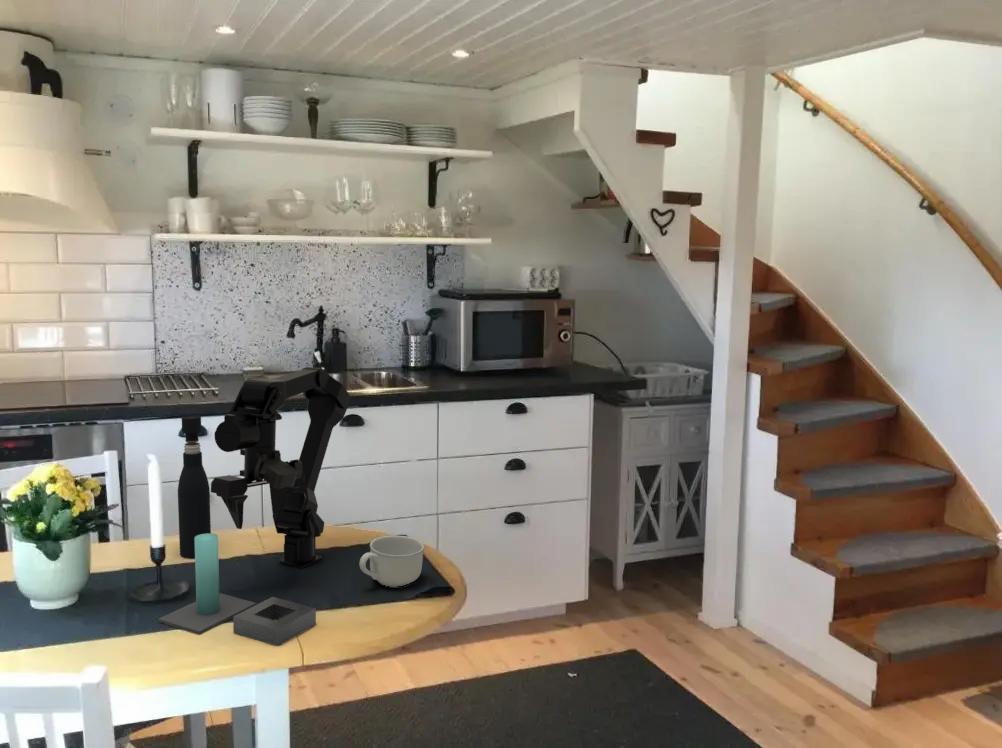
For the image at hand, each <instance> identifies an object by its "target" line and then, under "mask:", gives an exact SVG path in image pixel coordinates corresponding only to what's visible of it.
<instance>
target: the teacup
mask: <svg viewBox="0 0 1002 748" xmlns="http://www.w3.org/2000/svg"><path fill="white" fill-rule="evenodd" d="M424 545H425V544H424V543H423V541H421V540H420V539H417V538H414V537H412V536H406V535H384V536H379V537H376V538H375V539H373V540H371V542H370V543H369V549H370V551H369V552H365V553H364V554H363V555H362V556H361V557H360V558H359V563H358V564H359V568H360V570H361V571H362V572H363V573H364V574H366V575H368V576H369V577H371V578H372V580H376V581H377V582H378V583H379V584H380V585H382V586H384V585H385V586H384V587H388V586H389V588H398V587H397V586H403V585H406V584H409V583H411V582H412V583H413V582H414V581H416V580H417V579H418V578H419V577H420V575H421V573H422V568H423V559H424V549H425V546H424ZM368 560H369V569H368V568H367V566H366V565H367V561H368ZM412 583H411V584H412ZM409 585H410V584H409Z"/></svg>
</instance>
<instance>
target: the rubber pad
mask: <svg viewBox="0 0 1002 748" xmlns="http://www.w3.org/2000/svg"><path fill="white" fill-rule="evenodd" d="M219 601H220V610H219V612H217V613H215V614H212V615H199V614H198V613H197V605H196V601H194V602H192V603H189V604H188V605H184V607H180V608H179V609H176V610H175V611H172V612H170V613H168V614H166V615H163V616H161V617H160V618H157V621H158V623H160V624H163V623H164V625H167V626H170V627H174V628H176V629H180V630H184V631H186V632H189V633H193V634H196V635H201V634H203V633H205V632H208V631H210V630H212V629H214V628H217V626H220V625H222V624H224V623H225V622H227V621H229V620H231V619H233V616H235V615H237V614H239V613H241V612H243V611H245V610H247V609H249V608H251V607H253V606H255V605H257V602H254V601H250V600H247V599H243V598H239V597H236V596H231V595H228V594H225V593H222V592H219Z"/></svg>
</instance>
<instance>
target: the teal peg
mask: <svg viewBox="0 0 1002 748" xmlns="http://www.w3.org/2000/svg"><path fill="white" fill-rule="evenodd" d="M194 564H195V565H194V568H195V569H194V570H195V594H196V596H195V598H196V600H195V602H196V605H197V613H198V614H199V615H212V614H215V613H217V612H219V610H220V601H219V593H220V573H219V572H220V571H219V570H220V568H219V566H220V565H219V536H218V534H215V533H212V532H211V533H206V534H200V535H197V536H196V537H195V558H194Z"/></svg>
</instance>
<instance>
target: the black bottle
mask: <svg viewBox="0 0 1002 748" xmlns="http://www.w3.org/2000/svg"><path fill="white" fill-rule="evenodd" d="M181 433H183V434H185V443H184V446H183V451H184V452H183V453H182V459H183V460H182V461H183V466H182V469H181V473H180V475H179V479H178V485H177V486H178V487H177V509H178V511H177V512H178V536H179V537H178V538H179V556H180V557H181V558H184V559H191V560H192V559H194V560H195V537H196V536H197V535H200V534H206V533H211V534H212V532H211V528H212V527H211V522H212V521H211V496H210V494H211V488H210V483H209V478H208V476H207V473H206V470H205V467H204V466H203V452H202V450H201V445H200V444H201V443H200V442H199V441H200V439H199V433H202V416H201V415H198V414H188V415H183V416H181Z"/></svg>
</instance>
